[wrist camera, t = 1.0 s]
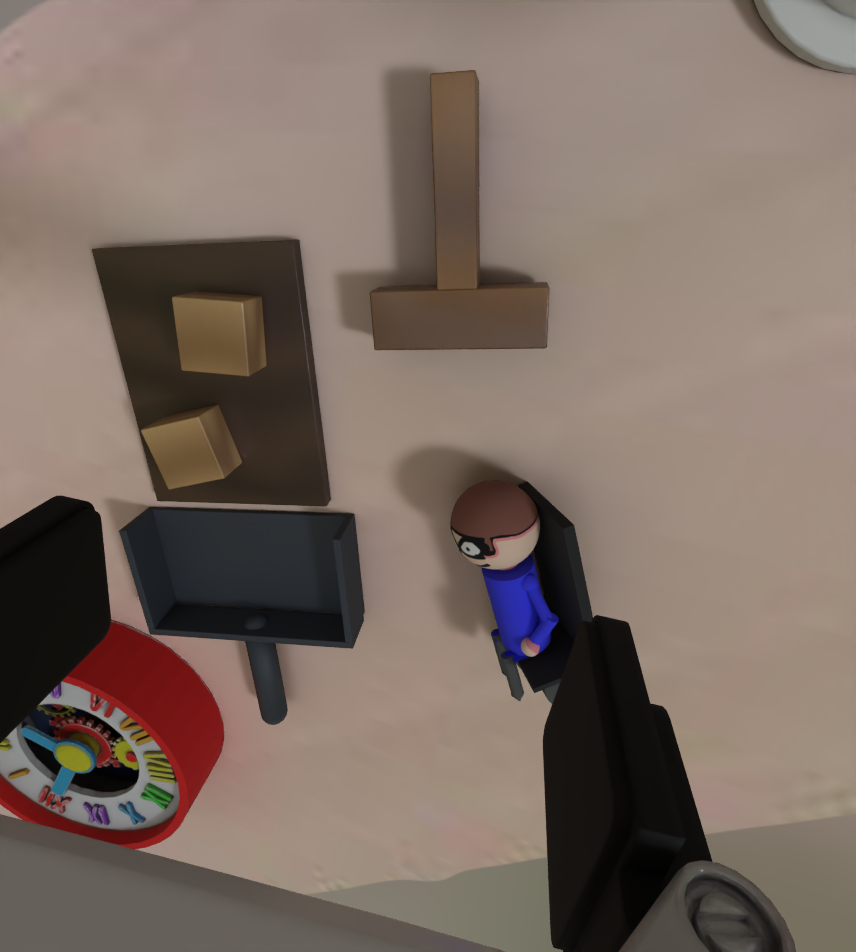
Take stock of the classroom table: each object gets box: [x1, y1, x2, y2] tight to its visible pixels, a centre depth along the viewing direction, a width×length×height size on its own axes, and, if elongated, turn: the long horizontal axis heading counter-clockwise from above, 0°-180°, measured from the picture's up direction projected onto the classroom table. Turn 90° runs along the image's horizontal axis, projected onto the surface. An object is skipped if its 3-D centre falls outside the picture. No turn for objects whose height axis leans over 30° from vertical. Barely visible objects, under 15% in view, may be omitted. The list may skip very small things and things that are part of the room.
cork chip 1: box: [172, 291, 266, 376], centre depth 32 cm, size 4×4×2 cm
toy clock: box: [0, 620, 224, 849], centre depth 47 cm, size 20×6×20 cm
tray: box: [92, 240, 331, 506], centre depth 35 cm, size 16×12×1 cm
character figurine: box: [451, 480, 593, 704], centre depth 34 cm, size 8×7×15 cm
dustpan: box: [119, 507, 365, 725], centre depth 41 cm, size 18×15×3 cm
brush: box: [370, 70, 549, 350], centre depth 29 cm, size 12×9×3 cm
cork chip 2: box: [141, 404, 242, 489], centre depth 35 cm, size 4×4×2 cm
